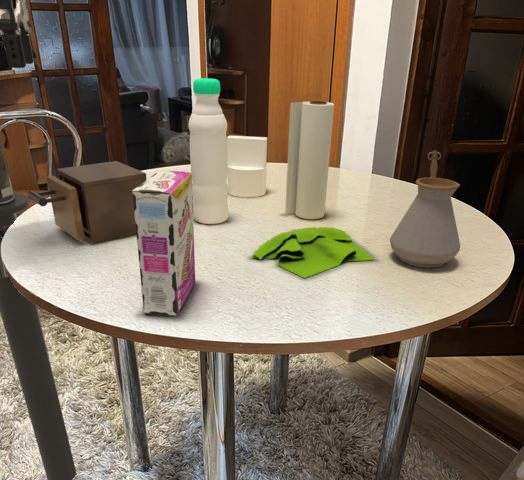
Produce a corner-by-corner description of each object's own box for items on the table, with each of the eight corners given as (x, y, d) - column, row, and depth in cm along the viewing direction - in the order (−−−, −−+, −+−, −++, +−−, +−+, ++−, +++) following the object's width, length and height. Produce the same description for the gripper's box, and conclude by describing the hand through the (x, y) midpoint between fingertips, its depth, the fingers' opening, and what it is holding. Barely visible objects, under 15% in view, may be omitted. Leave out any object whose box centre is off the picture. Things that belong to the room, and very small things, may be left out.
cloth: (347, 229, 99) (349, 217, 98) (386, 275, 81) (388, 261, 80) (243, 232, 97) (243, 219, 95) (259, 280, 78) (259, 265, 77)
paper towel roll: (329, 215, 107) (340, 102, 95) (314, 222, 103) (323, 105, 91) (300, 208, 110) (308, 98, 99) (284, 214, 106) (290, 101, 95)
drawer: (52, 246, 86) (41, 193, 81) (30, 229, 92) (19, 179, 88) (133, 229, 94) (128, 180, 89) (108, 214, 100) (102, 168, 96)
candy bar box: (179, 317, 68) (171, 192, 59) (143, 315, 68) (128, 190, 59) (198, 282, 77) (193, 170, 68) (165, 280, 77) (156, 168, 69)
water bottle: (235, 220, 102) (235, 79, 89) (207, 227, 98) (202, 81, 85) (213, 211, 107) (209, 76, 93) (186, 218, 102) (178, 78, 89)
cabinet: (92, 244, 89) (82, 182, 84) (66, 226, 97) (56, 168, 91) (151, 231, 96) (146, 173, 90) (123, 215, 103) (116, 160, 98)
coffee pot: (459, 276, 81) (483, 180, 73) (385, 267, 84) (401, 173, 76) (450, 233, 99) (468, 151, 91) (390, 227, 101) (402, 147, 93)
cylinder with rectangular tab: (268, 188, 124) (269, 135, 117) (263, 198, 116) (264, 142, 110) (231, 185, 124) (231, 133, 118) (224, 195, 117) (223, 140, 110)
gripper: (-26, -72, 71) (3, 62, 79) (-54, -91, 59) (-16, 69, 68) (32, -69, 72) (54, 63, 81) (16, -86, 61) (44, 69, 69)
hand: (22, 65), depth 74 cm, fingers open, 8 cm apart
